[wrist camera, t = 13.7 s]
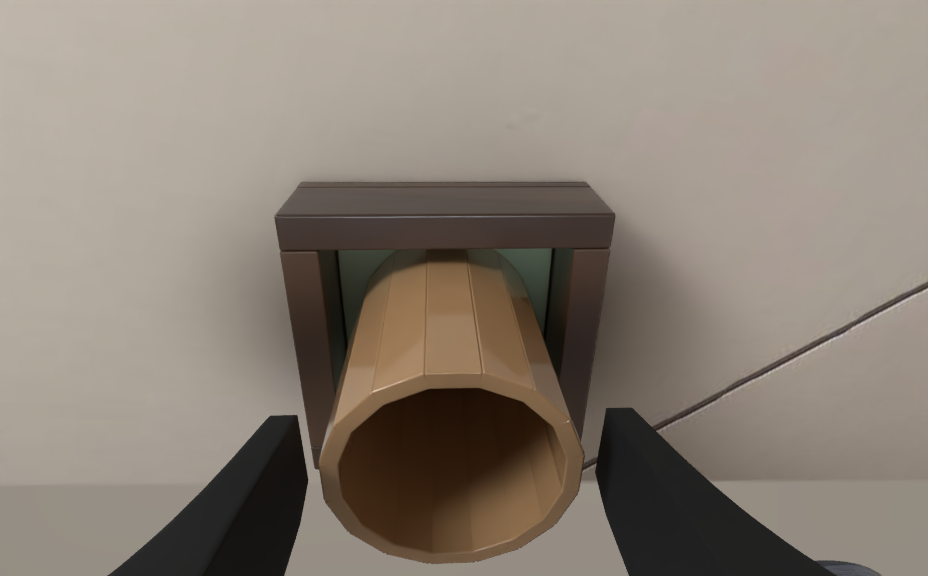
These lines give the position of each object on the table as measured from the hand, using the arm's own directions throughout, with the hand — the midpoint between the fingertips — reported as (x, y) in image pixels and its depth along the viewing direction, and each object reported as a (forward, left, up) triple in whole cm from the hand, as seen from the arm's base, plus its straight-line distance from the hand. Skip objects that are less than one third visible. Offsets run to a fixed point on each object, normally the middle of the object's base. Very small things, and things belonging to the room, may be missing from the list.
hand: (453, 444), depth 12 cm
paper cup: (0, 0, -6) cm, 6 cm away
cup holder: (0, 0, -7) cm, 7 cm away
